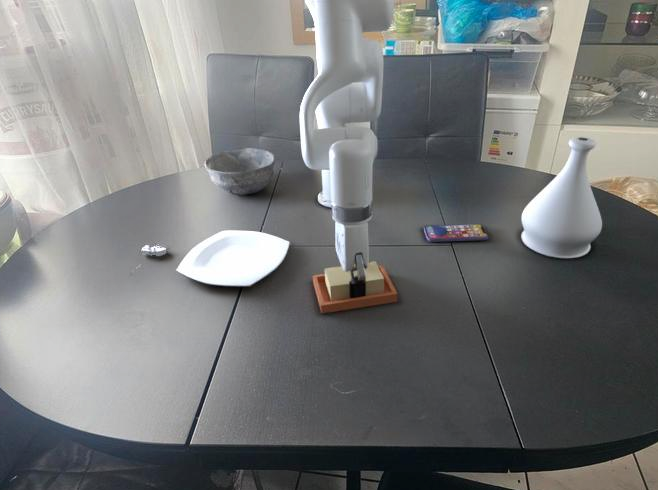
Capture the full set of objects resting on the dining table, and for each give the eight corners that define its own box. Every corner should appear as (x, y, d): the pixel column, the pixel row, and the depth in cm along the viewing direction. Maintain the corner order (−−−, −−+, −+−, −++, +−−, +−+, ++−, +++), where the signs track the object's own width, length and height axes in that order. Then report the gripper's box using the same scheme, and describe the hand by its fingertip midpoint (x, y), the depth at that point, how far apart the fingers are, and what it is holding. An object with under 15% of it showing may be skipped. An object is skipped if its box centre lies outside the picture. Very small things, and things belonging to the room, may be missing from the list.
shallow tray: (313, 283, 97) (312, 275, 95) (382, 273, 99) (382, 265, 98) (321, 313, 88) (320, 305, 87) (397, 301, 90) (397, 293, 89)
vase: (504, 228, 114) (523, 130, 100) (565, 220, 117) (593, 123, 102) (542, 265, 100) (571, 157, 86) (611, 254, 103) (650, 148, 88)
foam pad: (325, 283, 95) (324, 268, 93) (375, 276, 97) (375, 261, 94) (331, 302, 90) (330, 286, 87) (383, 294, 91) (384, 278, 89)
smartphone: (422, 228, 115) (480, 226, 115) (427, 242, 109) (489, 240, 109) (423, 225, 114) (481, 223, 115) (428, 239, 108) (489, 237, 108)
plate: (255, 300, 92) (253, 293, 91) (163, 280, 99) (161, 273, 98) (302, 245, 110) (301, 238, 108) (222, 231, 117) (220, 225, 115)
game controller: (170, 247, 110) (168, 238, 109) (156, 274, 101) (153, 265, 99) (147, 248, 110) (144, 239, 109) (130, 275, 101) (127, 266, 99)
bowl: (260, 208, 127) (256, 175, 121) (197, 201, 132) (190, 169, 126) (288, 180, 143) (285, 149, 138) (231, 174, 148) (226, 145, 143)
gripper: (324, 192, 89) (328, 266, 99) (341, 233, 75) (344, 315, 85) (360, 187, 90) (361, 261, 100) (384, 228, 76) (382, 309, 86)
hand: (353, 285), depth 93 cm, fingers closed on foam pad, 6 cm apart
